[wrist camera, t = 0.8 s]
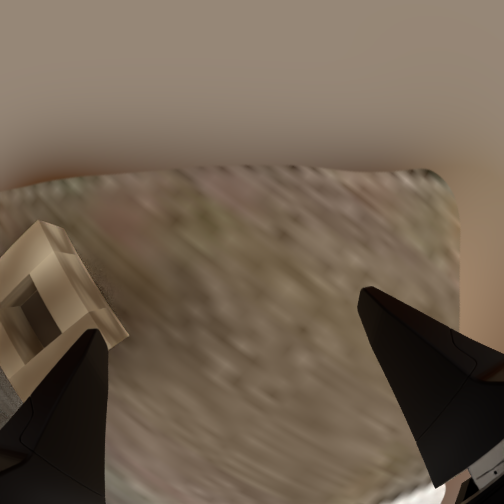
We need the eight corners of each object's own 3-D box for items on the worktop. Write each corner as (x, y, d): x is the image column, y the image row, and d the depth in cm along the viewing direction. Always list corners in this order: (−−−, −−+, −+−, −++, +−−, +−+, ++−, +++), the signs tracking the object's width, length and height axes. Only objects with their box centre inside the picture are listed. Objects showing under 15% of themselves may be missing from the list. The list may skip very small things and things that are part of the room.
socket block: (129, 335, 23) (111, 347, 18) (51, 392, 21) (27, 409, 17) (64, 228, 23) (38, 219, 18) (-5, 295, 21) (-33, 297, 17)
